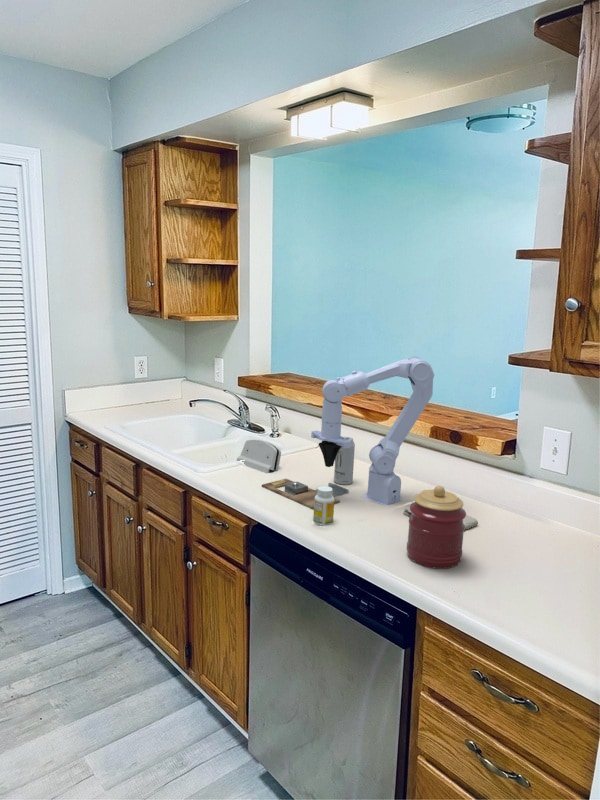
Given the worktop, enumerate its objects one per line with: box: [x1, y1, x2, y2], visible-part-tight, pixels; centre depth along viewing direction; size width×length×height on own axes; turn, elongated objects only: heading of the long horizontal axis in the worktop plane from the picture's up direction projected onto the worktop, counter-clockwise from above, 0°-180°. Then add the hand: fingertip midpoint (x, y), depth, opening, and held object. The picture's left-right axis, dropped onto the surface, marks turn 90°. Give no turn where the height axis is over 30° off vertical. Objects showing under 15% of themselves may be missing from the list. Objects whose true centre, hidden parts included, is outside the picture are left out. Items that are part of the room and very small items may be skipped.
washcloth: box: [403, 506, 479, 531], centre depth 161 cm, size 12×18×3 cm, turn 41°
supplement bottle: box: [312, 485, 335, 527], centre depth 156 cm, size 5×5×10 cm
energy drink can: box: [333, 436, 356, 486], centre depth 186 cm, size 6×6×15 cm
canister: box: [406, 485, 467, 569], centre depth 137 cm, size 13×13×18 cm
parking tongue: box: [314, 482, 350, 498], centre depth 179 cm, size 8×7×2 cm
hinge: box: [236, 439, 282, 474], centre depth 202 cm, size 17×5×10 cm, turn 47°
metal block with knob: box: [284, 481, 309, 496], centre depth 177 cm, size 5×5×4 cm
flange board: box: [261, 478, 341, 511], centre depth 175 cm, size 24×10×2 cm, turn 42°
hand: (329, 466), depth 173 cm, fingers closed
